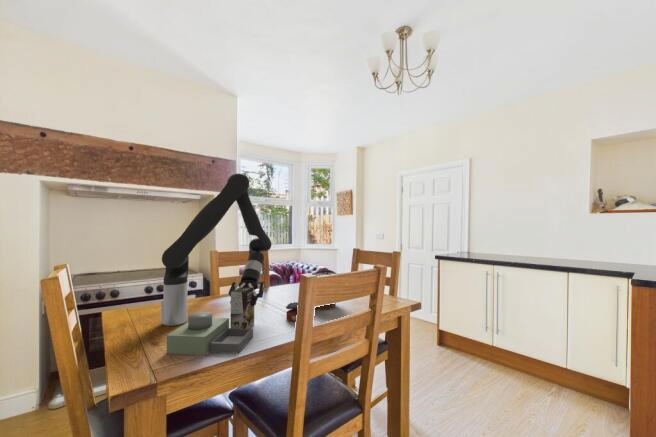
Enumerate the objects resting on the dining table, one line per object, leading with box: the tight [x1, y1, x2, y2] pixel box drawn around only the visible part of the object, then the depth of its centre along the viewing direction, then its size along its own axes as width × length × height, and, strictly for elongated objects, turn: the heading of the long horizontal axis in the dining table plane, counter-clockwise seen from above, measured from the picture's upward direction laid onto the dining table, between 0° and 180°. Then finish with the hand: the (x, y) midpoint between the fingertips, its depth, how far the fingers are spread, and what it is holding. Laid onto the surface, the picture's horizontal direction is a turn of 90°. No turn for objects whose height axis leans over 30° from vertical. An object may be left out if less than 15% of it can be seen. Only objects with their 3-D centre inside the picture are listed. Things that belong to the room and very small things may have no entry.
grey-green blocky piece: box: [166, 311, 254, 356], centre depth 103 cm, size 24×18×10 cm
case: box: [311, 269, 338, 311], centre depth 147 cm, size 18×20×18 cm
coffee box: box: [229, 287, 255, 329], centre depth 118 cm, size 9×6×16 cm
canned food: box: [285, 301, 299, 323], centre depth 130 cm, size 11×10×10 cm
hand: (242, 305), depth 117 cm, fingers open, 8 cm apart
